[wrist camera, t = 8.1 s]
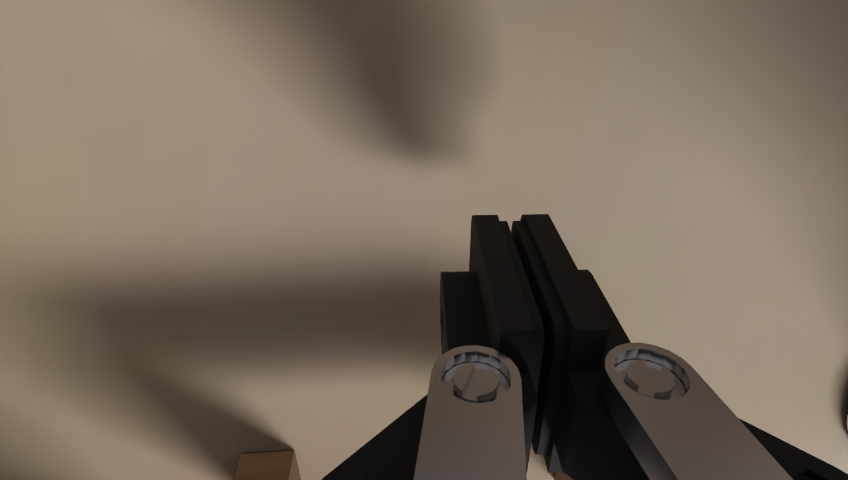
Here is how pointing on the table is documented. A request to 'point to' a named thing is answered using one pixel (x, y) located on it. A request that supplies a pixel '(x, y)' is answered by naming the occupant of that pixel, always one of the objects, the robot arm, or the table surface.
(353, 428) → the table surface
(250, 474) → the bridge
